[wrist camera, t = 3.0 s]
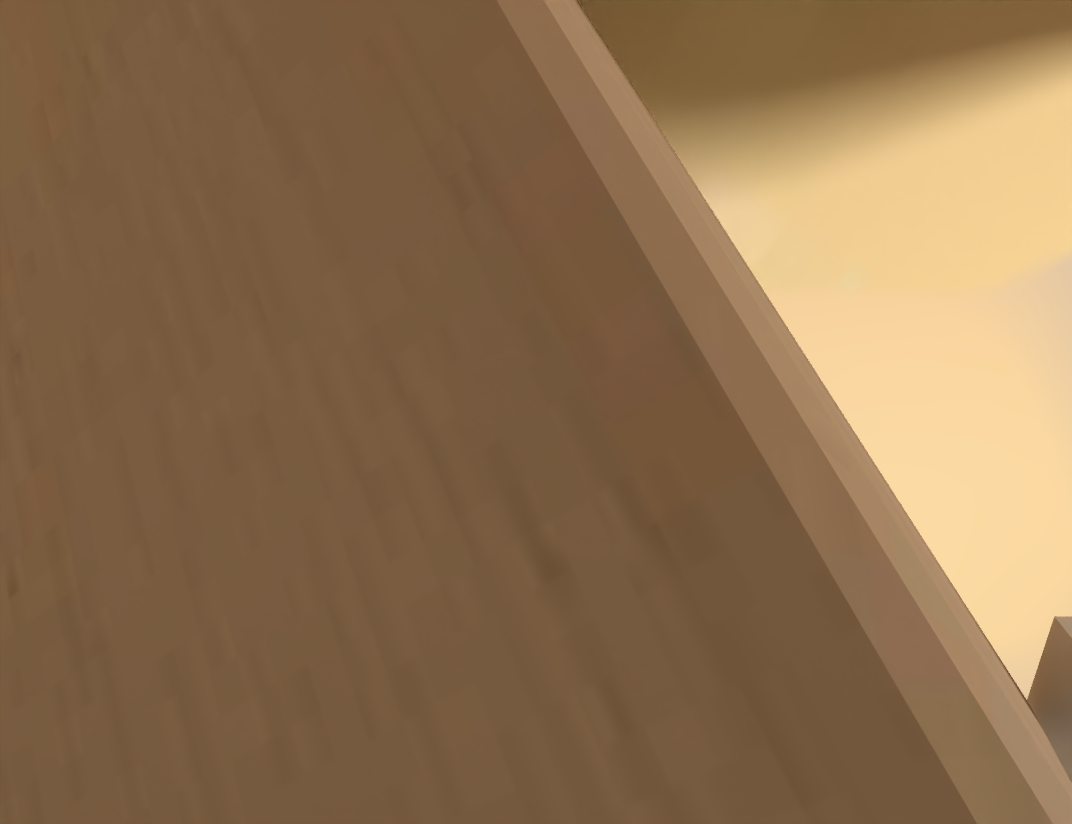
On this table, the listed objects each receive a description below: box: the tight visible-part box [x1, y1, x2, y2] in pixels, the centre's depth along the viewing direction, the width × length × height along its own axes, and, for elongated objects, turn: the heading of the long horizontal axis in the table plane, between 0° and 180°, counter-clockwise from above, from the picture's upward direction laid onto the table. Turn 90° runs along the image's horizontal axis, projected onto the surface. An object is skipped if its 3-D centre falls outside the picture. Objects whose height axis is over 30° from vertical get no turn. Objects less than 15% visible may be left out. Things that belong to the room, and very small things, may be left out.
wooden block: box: [0, 0, 1072, 824], centre depth 14 cm, size 10×10×20 cm
